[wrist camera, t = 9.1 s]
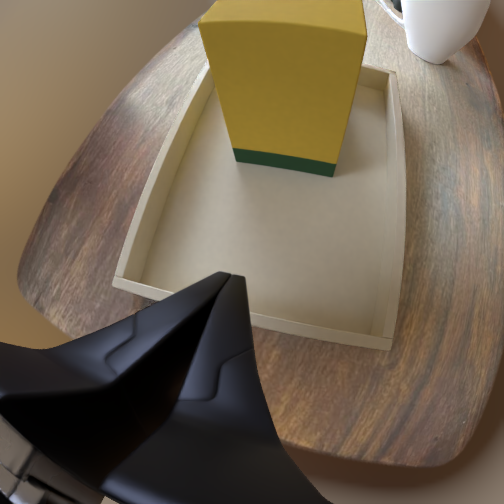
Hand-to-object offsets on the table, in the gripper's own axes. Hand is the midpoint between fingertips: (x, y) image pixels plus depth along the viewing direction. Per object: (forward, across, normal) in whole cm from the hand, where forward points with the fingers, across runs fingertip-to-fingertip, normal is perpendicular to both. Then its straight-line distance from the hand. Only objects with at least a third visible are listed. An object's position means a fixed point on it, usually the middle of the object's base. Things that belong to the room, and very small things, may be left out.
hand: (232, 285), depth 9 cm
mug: (+25, -10, -15) cm, 31 cm away
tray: (+11, 0, -1) cm, 11 cm away
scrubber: (+13, 0, -4) cm, 13 cm away
